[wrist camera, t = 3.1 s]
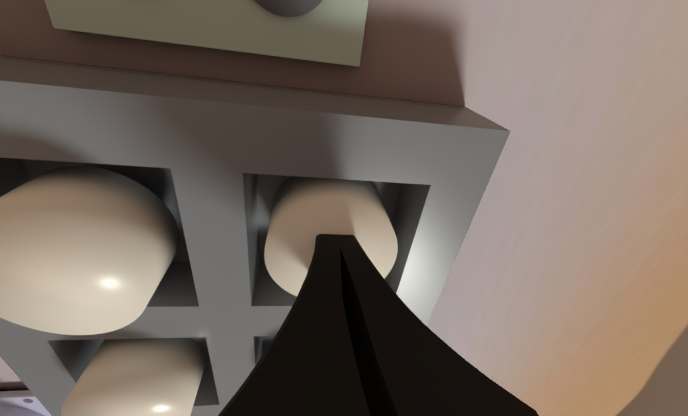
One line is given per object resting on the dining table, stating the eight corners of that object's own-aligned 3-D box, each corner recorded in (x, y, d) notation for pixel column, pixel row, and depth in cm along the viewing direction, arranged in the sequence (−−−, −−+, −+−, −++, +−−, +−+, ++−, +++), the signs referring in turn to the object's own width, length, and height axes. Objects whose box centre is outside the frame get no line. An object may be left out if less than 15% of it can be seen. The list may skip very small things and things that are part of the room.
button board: (99, 374, 18) (65, 431, 16) (-95, 45, 9) (-260, 54, 6) (379, 364, 21) (389, 410, 18) (465, 107, 11) (510, 131, 9)
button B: (56, 275, 11) (-5, 337, 9) (-8, 160, 9) (-113, 206, 6) (189, 276, 12) (162, 333, 10) (166, 170, 9) (123, 215, 7)
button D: (115, 384, 15) (84, 443, 13) (85, 327, 13) (39, 389, 11) (211, 380, 16) (196, 436, 14) (199, 325, 14) (179, 383, 11)
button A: (272, 257, 14) (265, 302, 11) (271, 161, 11) (262, 196, 9) (371, 259, 14) (383, 301, 12) (392, 170, 12) (412, 204, 10)
